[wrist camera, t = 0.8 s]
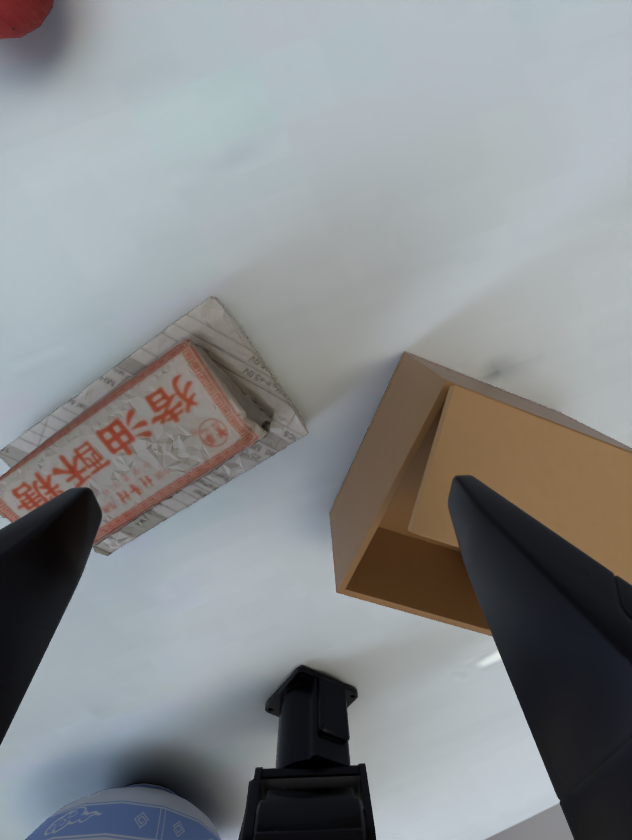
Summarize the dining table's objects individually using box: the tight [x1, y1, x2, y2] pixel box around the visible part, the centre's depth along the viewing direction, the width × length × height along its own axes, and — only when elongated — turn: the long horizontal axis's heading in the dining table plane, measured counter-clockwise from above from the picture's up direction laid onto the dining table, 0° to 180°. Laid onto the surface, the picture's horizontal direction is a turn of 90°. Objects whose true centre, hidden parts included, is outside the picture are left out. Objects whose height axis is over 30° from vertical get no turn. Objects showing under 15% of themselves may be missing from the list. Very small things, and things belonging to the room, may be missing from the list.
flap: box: [408, 385, 632, 585], centre depth 15 cm, size 6×12×1 cm, turn 69°
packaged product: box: [0, 296, 309, 556], centre depth 22 cm, size 18×5×10 cm
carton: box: [329, 351, 632, 636], centre depth 22 cm, size 13×12×7 cm
